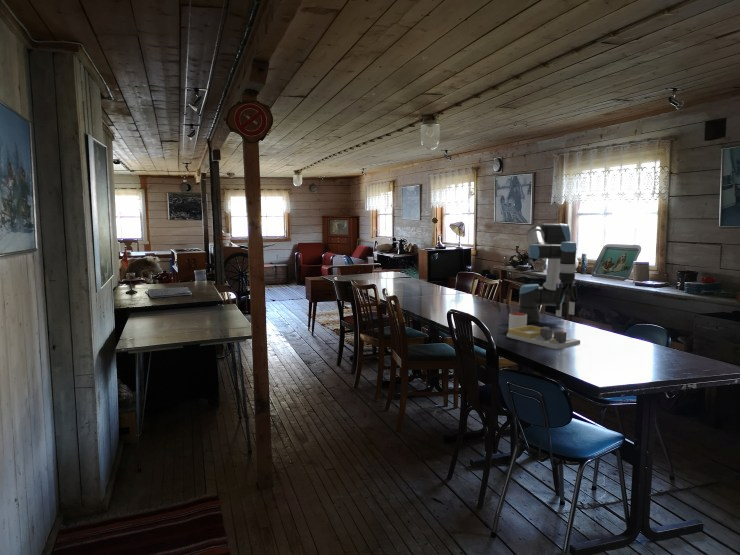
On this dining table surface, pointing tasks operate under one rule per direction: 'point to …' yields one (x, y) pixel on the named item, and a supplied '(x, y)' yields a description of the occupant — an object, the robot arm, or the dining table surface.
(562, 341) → the breaker
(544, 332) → the breaker
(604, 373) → the dining table surface
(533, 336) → the panel
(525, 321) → the cup
